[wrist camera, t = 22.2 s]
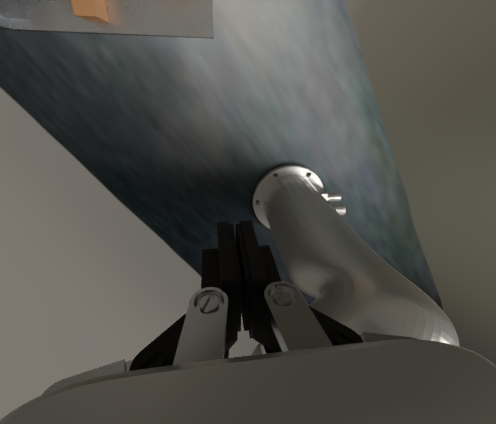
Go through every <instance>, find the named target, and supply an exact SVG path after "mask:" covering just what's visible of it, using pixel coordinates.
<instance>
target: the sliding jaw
mask: <svg viewBox="0 0 496 424" xmlns="http://www.w3.org/2000/svg"><path fill="white" fill-rule="evenodd" d="M71 3H72V7H73V11H74V15H75V16H77V17H80V18H82V19H85V20H88V21H90V22H109V20H108V15H107V10H106V5H105V0H71Z"/></svg>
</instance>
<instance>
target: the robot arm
mask: <svg viewBox="0 0 496 424" xmlns="http://www.w3.org/2000/svg"><path fill="white" fill-rule="evenodd" d="M307 172H308V173H307ZM274 173H276V174H275V175H274ZM306 173H307V174H306ZM257 200H258V201H257ZM340 200H341V194H340V193H332V194H327V192H325V191H324V187H323V184H322V182H321V180H320V178H319V177H318V176H317V175H316V174H315V173H314V172H313V171H312V170H310V169H309V168H307V167H305V166H302V165H296V164H288V165H283V166H280V167H277V168H275V169H273V170H271V171H270V172H268V173H267V174H266V175H265V176H264V177H262V179H261V180H260V181H259V183H258V184H257V186H256V188H255V190H254V194H253V201H252V202H253V209H254V212H255V214H256V217H257V218H258V220H259V221H260V222H261V223H262V224H263V225H264V226H266V227H267V228H269V229H271V231H272V234H273V236H274V239H275V241H276V244H277V246H278V249H279V252H280V254H281V257H282V259H283V262H284V264H285V267H286V269H287V272H288V274H289V276H290V278H291V280H292V281H293V283H294V284H295V285H296V286H297V287H298V288H299V289H300V290H302V291H303V292H304V293H306V294H308V295H310V296H312V297H314V298H316V300H315V301H314V302H312V303H311V304H310V305H308V304H307V302H306V301H305V299H304V298H303V296H302V294H301V293H300V291H299V290H298V289H297V288H296V287H295V286H294V285H292V284H290V283H288V282H283V281H281V279H280V276H279V273H278V270H277V267H276V264H275V261H274V258H273V255H272V253H271V250H270V247H269V246H268V245H265V246H258V242H257V239H256V235H255V232H254V228H253V225H252V222H251V221H240V224H236V242H235V236H234V229H233V224H228V222H217V230H218V249H203V250H202V280H201V281H202V283H201V289H200V290H198V291H197V292H196V293H195V294H194V295H193V296H192V297H191V299H190V302H189V306H188V310H187V313H186V314H185V315H183V316H182V317H181V318H180V319H179V320H177V321H176V322H175V323H174V324H173V325H172V326H170V327H169V328H168V329H167V330H166V331H164V332H163V333H162V334H161V335H160V336H159V337H157V338H156V339H155V340H154V341H152V342H151V343H150V344H149V345H148V346H147V347H145V348H144V349H143V350H142V351H141V352H140V353H139V354H138V355H137V356H136V357H135V358H134V359H133V360H130V361H127V362H125V359H124V360H120V361H117V362H114V363H111V364H108V365H105V366H102V367H99V368H96V369H93V370H89V371H86V372H83V373H80V374H77V375H74V376H71V377H68V378H65V379H62V380H60V381H58V382H56V383H54V384H53V385H51V386H50V387H49V388H48V389H46V390H45V391H44V393H43V394H42V395H41V396H39V397H37V398H35V399H33V400H31V401H29V402H27V403H25V404H24V405H22V406H20V407H18V408H17V409H15V410H14V411H12V412H10V413H9V414H8V415H6V416H5V417H4V418H2V419H1V420H0V424H496V366H495V365H494V364H493V363H491V362H490V361H488V360H487V359H486V358H484V357H482V356H481V355H479V354H477V353H475V352H473V351H470V350H468V349H465V348H462V347H459V340H458V336H457V333H456V331H455V328H454V327H453V325H452V323H451V321H450V320H449V319H448V317H447V316H446V314H445V313H444V312H443V311H442V310H441V309H440V308H439V306H438V305H437V304H436V303H435V302H434V301H433V300H432V299H431V298H430V297H429V296H427V295H426V294H425V293H424V292H423V291H422V290H421V289H419V288H418V287H417V286H415V285H414V284H413V283H412V282H410V281H409V280H408V279H406V278H405V277H404V276H402V275H401V274H400V273H399V272H397V271H396V270H395V269H394V268H392V267H391V266H390V265H389V264H387V263H386V262H385V261H384V260H383V259H382V258H380V257H379V256H378V255H377V254H376V253H375V252H374V251H373V250H372V249H371V248H370V247H369V246H368V245H367V244H366V243H365V242H364V241H363V240H362V239H361V238H360V236H359V235H358V234H357V233H356V232H355V231H354V230H353V229H352V228H351V227H350V226H349V225H348V224H347V222H346V221H345V220H344V219H343V218H342V217H341V216H340V215H344V214H345V212H346V209H345V206H344V205H343V204H339V205H330V203H329V202H328V201H340ZM241 311H242V318H243V325H244V330H245V331H247V330H249V334H250V338H253V339H255V340H256V341H258V342H259V344H258V346H257V347H256V348H255V349H254V351H253V353H252V355H251V356H243V357H235V358H229V349H230V348H231V346H232V345H233V344H234V343H235V342H236V341H237V332H238V331H241Z"/></svg>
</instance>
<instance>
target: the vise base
mask: <svg viewBox="0 0 496 424" xmlns="http://www.w3.org/2000/svg"><path fill="white" fill-rule="evenodd" d="M105 5H106V10H107V15H108V20H109V22H90V21H88V20H85V19H82V18H80V17H77V16H75V15H74V11H73V7H72V3H71V0H0V30H14V31H39V32H63V33H88V34H112V35H136V36H161V37H185V38H210V39H213V38H214V35H213V7H212V0H105Z"/></svg>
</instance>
